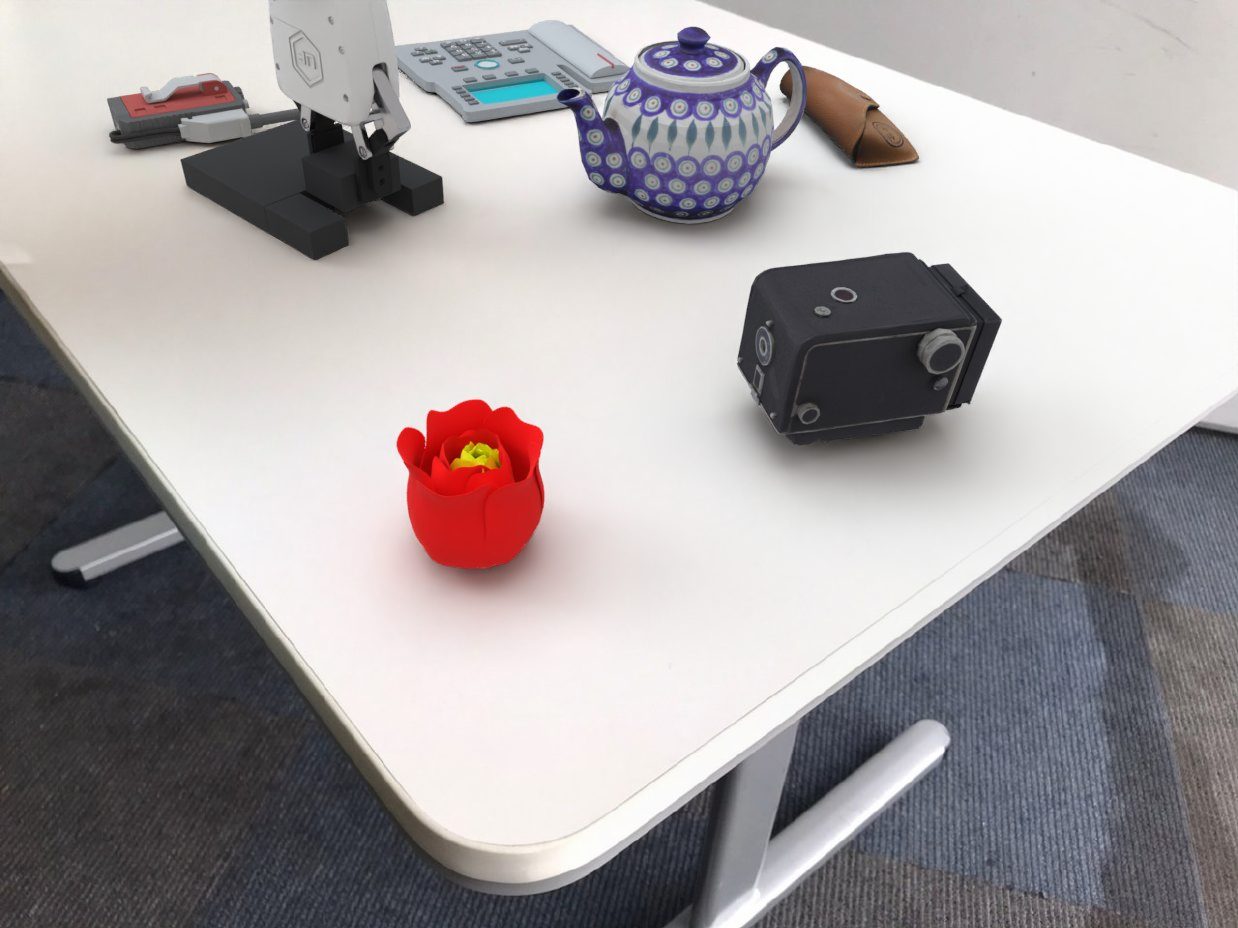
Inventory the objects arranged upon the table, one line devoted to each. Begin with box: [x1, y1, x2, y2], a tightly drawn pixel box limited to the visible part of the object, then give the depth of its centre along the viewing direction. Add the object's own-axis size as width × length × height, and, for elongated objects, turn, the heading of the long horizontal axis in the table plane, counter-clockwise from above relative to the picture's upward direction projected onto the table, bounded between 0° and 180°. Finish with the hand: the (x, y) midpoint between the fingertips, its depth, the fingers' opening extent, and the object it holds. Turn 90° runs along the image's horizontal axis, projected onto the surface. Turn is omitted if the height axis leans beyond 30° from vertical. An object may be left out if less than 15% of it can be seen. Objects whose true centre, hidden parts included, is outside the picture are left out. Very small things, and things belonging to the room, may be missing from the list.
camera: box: [736, 251, 1003, 446], centre depth 66 cm, size 11×11×15 cm
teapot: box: [556, 26, 807, 225], centre depth 88 cm, size 25×15×15 cm, turn 116°
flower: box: [396, 398, 546, 570], centre depth 57 cm, size 8×8×8 cm
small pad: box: [301, 139, 401, 214], centre depth 85 cm, size 6×5×3 cm
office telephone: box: [395, 19, 631, 123], centre depth 112 cm, size 23×3×20 cm
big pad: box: [180, 118, 445, 261], centre depth 89 cm, size 14×18×2 cm
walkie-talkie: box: [106, 72, 301, 150], centre depth 98 cm, size 9×4×20 cm
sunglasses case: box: [779, 64, 920, 168], centre depth 106 cm, size 18×7×7 cm
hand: (353, 183), depth 85 cm, fingers closed on small pad, 5 cm apart
